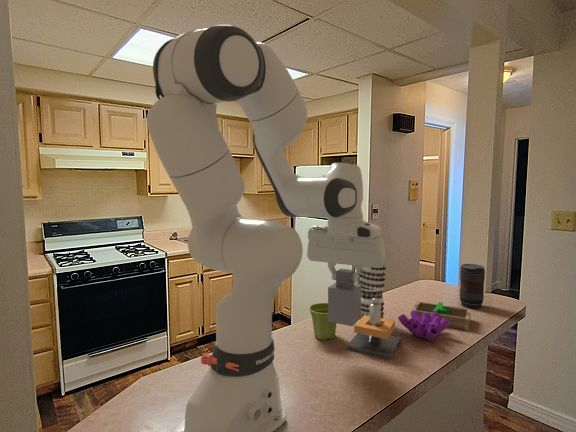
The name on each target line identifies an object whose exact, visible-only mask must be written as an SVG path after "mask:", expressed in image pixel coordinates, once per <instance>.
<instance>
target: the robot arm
mask: <svg viewBox="0 0 576 432" xmlns="http://www.w3.org/2000/svg"><path fill="white" fill-rule="evenodd" d="M154 55H155V56H154V59H153V64H152V73H153V80H154V84H155V85H154V86H155V96H156V98H157V99H158V100H157V101H155V102H154V103H153V104H152V106H150V108H149V110H148V112H147V114H146V126H147V129H148V132H149V136H150V139H151V142H152V143H153V146H154V148H155V149H154V150H155V151H156V154H157V155H158V158H159V160H160V162H161V164H162V166H163V168H164V169H165V172H166V174H167V176H168V177H169V179H170V180H171V182H172V185H174V188H175V189H176V192H177V193H178V194H179V197H180V199H181V200H182V202H183V204H184V206H185V208H186V211H187V213H188V215H189V219H190V222H191V229H190V232H189V234H188V238H187V249H188V253H189V255H190V256H191V258H192V259H193V260H194V261H195V262H197V263H199V264H200V265H202V266H204V267H206V268H208V269H210V270H212V271H213V270H214V271H218V272H224V273H228V274H232V275H233V283H232V288H231V290H230V292H228V293H227V294H225V295H224V296H223V297H222V298H220V300H219V301H218V302H217V304H216V307H215V336H216V337H215V338H216V339H215V343H214V345H213V349H212V354H209V353H207V352H204V353H202V355H201V357H200V363H201V364H202V365H207V366H208V370H207V371H206V372H205V374H204V375H203V378H202V379H200V382H199V383H198V385H197V386H196V388H195V390H194V391H193V393H192V394H191V396H190V397H189V399H188V400H187V403H186V406H185V407H186V408H185V412H184V413H185V414H184V418H183V420H182V421H181V422H180V423H179V424H178V425H177V426H176V427H175V428H174V429H173V430H172V432H181V431H182V432H273V431H274V432H276V431H277V430H278V429H279V428H280V427H281V426H280V425H282V424H283V423H284V422H285V421H286V419H287V414H286V412H285V411H284V410H283V408H282V399H281V388H280V387H281V386H280V379H279V376H278V373H277V371H276V368H275V365H274V360H275V350H276V349H275V341H274V339H273V337H272V335H273V334H272V331H273V329H272V327H273V326H272V325H273V324H272V323H273V306H274V301H275V298H276V296H277V293H278V290H279V288H280V287H281V285H282V284H283V283H284V282H285V281H286V280H288V279H289V278H290V277H291V276H292V275H294V273H296V271H297V269H298V268H299V266H300V264H301V262H302V258H303V243H302V239H301V237H300V234H299V233H298V232H297V230H296V229H295V228H293V227H291V226H288V225H286V224H283V223H279V222H277V221H275V220H265V219H254V218H253V219H251V218H246V217H244V216H243V215H242V214H240V211H239V210H238V206H237V204H239V202H241V200H242V197H243V196H244V192H245V186H246V185H245V182H244V179H243V177H242V174H241V172H240V170H239V168H238V165H237V164H236V161H235V159H234V157H233V154H232V152H231V150H230V148H229V146H228V143H227V142H226V140H225V137H224V136H223V134H222V132H221V130H220V128H219V124H218V119H217V117H218V116H217V106H218V105H217V104H219V103H224V102H235V101H236V102H237V103H238V105H239V106H240V107H241V110H242V112H243V113H244V115H245V116H246V118H247V119H248V121H249V123H250V125H251V127H252V130H253V136H252V144H253V148H254V150H255V153H256V155H257V157H258V159H259V161H260V164H261V166H262V168H263V170H264V172H265V174H266V177H267V178H268V180H269V183H270V185H271V187H272V189H273V191H274V195H275V200H276V203H277V205H278V206H277V207H278V208H279V209H280V211H281V212H282V213H283V214H284V215H285V216H287V217H288V218H302V217H303V218H305V217H306V218H322V219H327V225H326V226H324V225H323V226H321V225H320V226H318V225H313V226H311V227H310V228H309V229H308V231H307V239H308V242H307V243H308V245H307V252H306V253H307V254H306V257H307V259H308V260H309V261H310V262H319V263H327V267H328V270H329V271H330V273H331V280H333V281H336V271H337V269H336V268H335V266H336V265H346V266H347V265H348V266H353V267H354V269H353V270H355V271H354V274H352V275H351V276H350V282H353V283H356V284H357V282H358V276H359V275H358V274H359V273H360V271H361V270H362V266H363V267H372V268H381V267H382V266H383V265H384V266H385V264H386V261H387V258H386V257H387V256H386V255H387V254H386V246H385V241H384V239H383V237H381V234H382V231H383V230H382V227H381V226H379V225H376V224H374V223H372V222H368V221H365V220H364V214H363V210H362V204H363V200H364V185H363V184H364V182H363V175H362V170H361V167H360V166H359V165H357V164H355V163H351V162H341V161H340V162H333V163H331V164H330V166H329V171H328V172H326V173H325V174H323V175H322V176H308V177H307V176H301V175H299V174H295V173H294V172H293V170H292V167H291V164H290V162H289V160H288V158H287V156H286V153H285V150H284V149H286V148H288V147H289V146H291V145H292V144H293V143H294V142H295V141H297V140H298V138H299V137H300V136H301V134H302V133H303V131H304V129H305V128H306V126H307V121H308V111H307V110H308V109H307V106H306V103H305V101H304V99H303V95H301V92H300V90H299V89H298V86H297V85H296V83H295V81H294V79H293V77H292V76H291V74H290V73H289V71H288V69H287V67H286V65H285V64H284V62H282V61H281V59H280V57H279V56H278V55H277V53H275V51H274V49H273V48H272V47H270V45H268V44H266V43H263V42H261V41H257V42H256V40H255V39H254V38H253V37H252V36H251V35H250V34H249V33H248V32H247V31H245V30H244V29H242V28H240V27H238V26H236V25H230V24H216V25H212V26H209V27H207V28H202V29H192V30H190V31H186V32H184V33H182V34H180V35H178V36H176V37H175V38H171V39H169V40H167V41H165V43H163V44H162V46H160V48H158V50H157V51H156V54H154ZM384 266H383V267H384ZM286 422H287V421H286ZM286 422H285V423H286ZM285 423H284V424H285ZM284 424H283V425H284ZM283 425H282V426H283ZM279 426H280V427H279ZM278 427H279V428H278ZM277 428H278V429H277ZM276 429H277V430H276Z"/></svg>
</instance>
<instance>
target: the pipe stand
mask: <svg viewBox="0 0 576 432" xmlns="http://www.w3.org/2000/svg"><path fill="white" fill-rule="evenodd" d="M369 325H372V326H377V327H381V304H380V303H379V299H378V298H372V302H371V303H370V324H369ZM401 342H402V337H399V336H395V335H391V334H390V335H389V337H388V338H387V339H383V338H378V337H373V336H369V335H364V334H359V333H355V335H354V337H353V338H352V339H351V340H350V341H349V342H348V343H347V345H346V350H349V351H353V352H358V353H362V354H366V355H371V356H376V357H378V358H383V359H388V360H392V358H393V356H394V355H395V353H396V351H397V349H398V348H399V346H400V344H401Z"/></svg>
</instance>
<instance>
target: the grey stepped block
mask: <svg viewBox="0 0 576 432" xmlns="http://www.w3.org/2000/svg"><path fill="white" fill-rule="evenodd" d="M354 270H355V269H349V268H348V269H347V268H339V269H338V270H336V280H335V282H334V283H333V284H331V285H330V286H328V287H327V303H328V322H333V323H337V324H338V325H344V326H349V327H354V325H355V324H356V323H357V321H358V320H359V319H360V318H361V284H357V283H353V282H350V276H351V275H352V274H355V271H354Z"/></svg>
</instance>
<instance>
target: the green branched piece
mask: <svg viewBox="0 0 576 432" xmlns="http://www.w3.org/2000/svg"><path fill="white" fill-rule="evenodd" d="M449 306H450V305H443V302H440V301H439V302H438V305H437V306H436V307H435V309H434V310H433V312H436V313H439V314H445V315H448V310H449Z"/></svg>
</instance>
